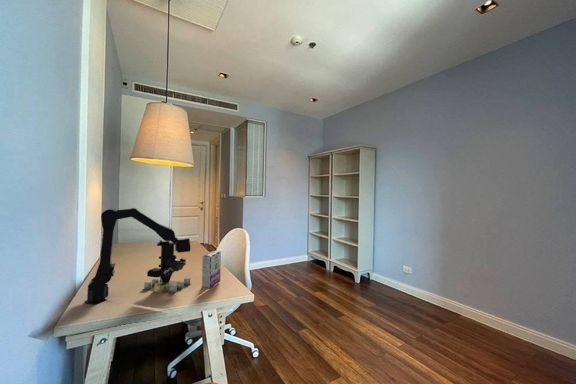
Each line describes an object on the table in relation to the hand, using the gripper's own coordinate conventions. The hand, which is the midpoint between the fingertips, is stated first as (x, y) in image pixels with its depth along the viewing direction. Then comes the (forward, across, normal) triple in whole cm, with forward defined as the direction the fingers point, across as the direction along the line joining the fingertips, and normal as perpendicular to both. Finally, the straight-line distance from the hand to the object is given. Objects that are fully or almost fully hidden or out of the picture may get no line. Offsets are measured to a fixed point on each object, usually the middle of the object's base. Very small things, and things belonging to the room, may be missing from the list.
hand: (166, 285), depth 116 cm
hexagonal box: (+1, -4, 0) cm, 4 cm away
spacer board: (+2, -2, 0) cm, 3 cm away
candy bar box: (+2, +12, -18) cm, 21 cm away
